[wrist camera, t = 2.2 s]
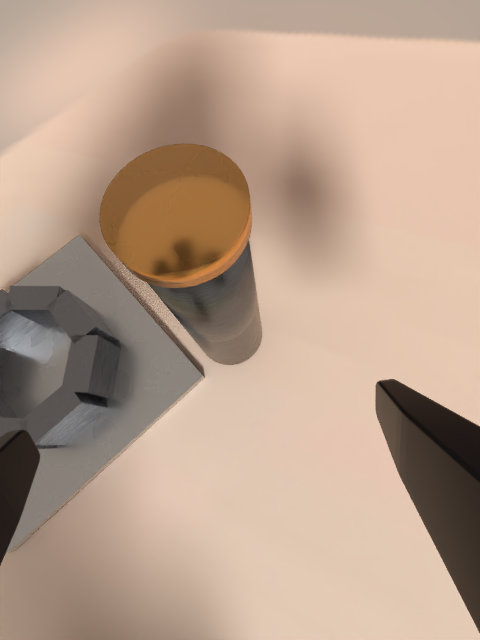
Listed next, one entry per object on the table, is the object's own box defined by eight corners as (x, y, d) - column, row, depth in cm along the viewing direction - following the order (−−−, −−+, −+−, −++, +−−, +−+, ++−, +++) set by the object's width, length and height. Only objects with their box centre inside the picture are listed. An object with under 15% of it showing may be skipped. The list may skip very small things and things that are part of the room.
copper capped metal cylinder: (227, 382, 21) (160, 304, 9) (182, 332, 23) (71, 206, 11) (279, 334, 22) (282, 201, 10) (233, 288, 23) (184, 121, 11)
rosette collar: (14, 550, 20) (-39, 572, 16) (-84, 367, 24) (-142, 356, 21) (204, 377, 22) (191, 365, 18) (83, 238, 26) (54, 208, 23)
